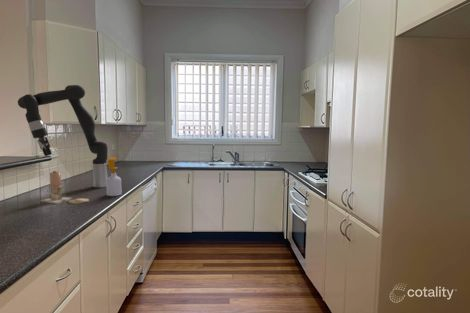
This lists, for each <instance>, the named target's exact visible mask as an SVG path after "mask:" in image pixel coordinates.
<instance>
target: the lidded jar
mask: <svg viewBox="0 0 470 313" xmlns="http://www.w3.org/2000/svg"><path fill="white" fill-rule="evenodd" d="M49 183H50V184H49V189H50V190H51V189H57V188H63V185H62V173H61V172H60V171H58V170H53V171H52V172H49Z"/></svg>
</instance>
